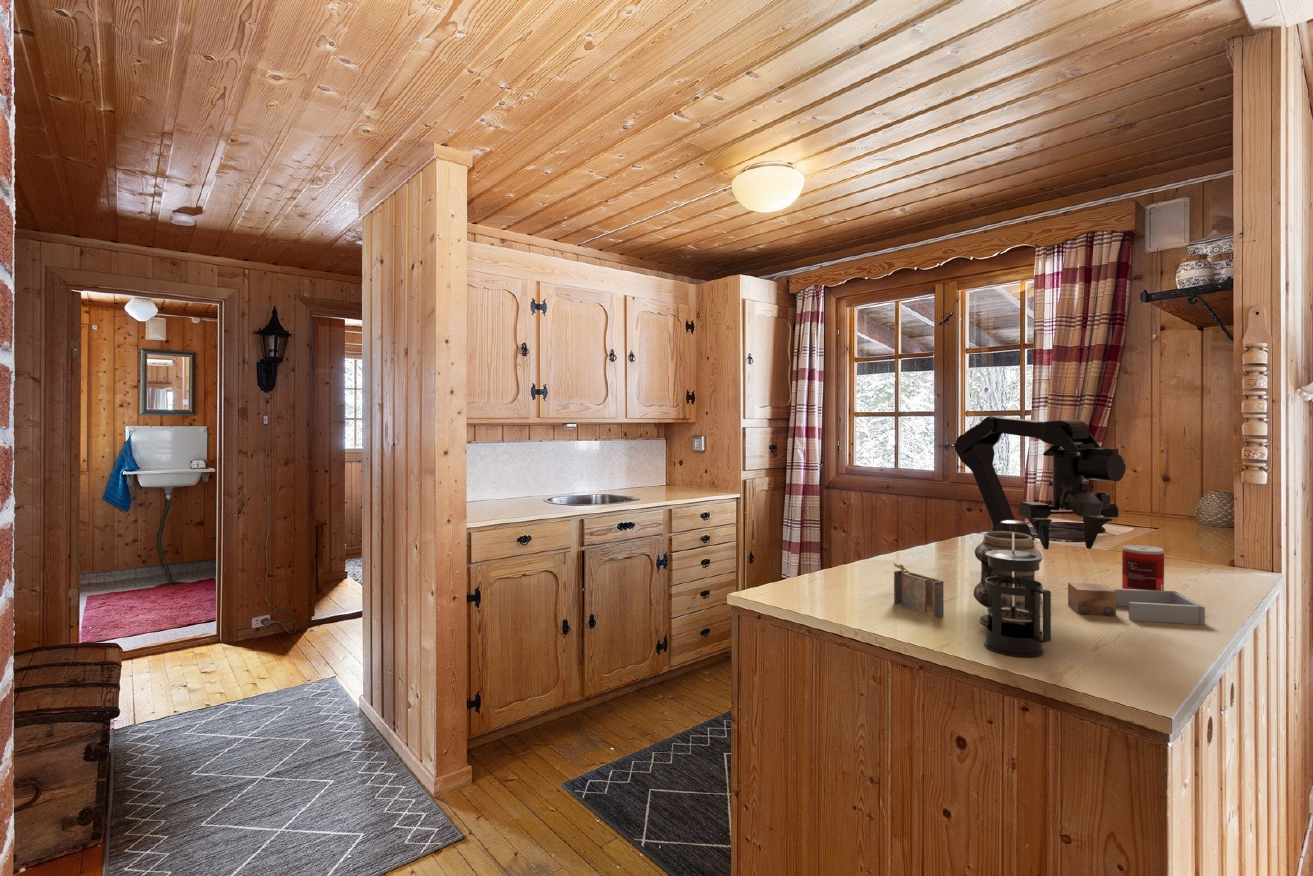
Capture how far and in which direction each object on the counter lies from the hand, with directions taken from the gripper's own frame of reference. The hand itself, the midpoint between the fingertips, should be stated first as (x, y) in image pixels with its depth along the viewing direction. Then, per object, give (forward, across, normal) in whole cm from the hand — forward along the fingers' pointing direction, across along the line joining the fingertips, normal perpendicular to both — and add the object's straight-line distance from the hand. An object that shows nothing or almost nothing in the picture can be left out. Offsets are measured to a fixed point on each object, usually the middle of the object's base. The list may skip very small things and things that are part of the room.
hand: (1067, 548), depth 142 cm
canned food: (+13, +21, +6) cm, 25 cm away
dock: (+12, +13, -7) cm, 19 cm away
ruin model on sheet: (+13, -33, -1) cm, 36 cm away
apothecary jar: (+12, -19, -12) cm, 26 cm away
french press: (+12, -25, -26) cm, 39 cm away
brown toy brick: (+12, +3, -4) cm, 13 cm away
